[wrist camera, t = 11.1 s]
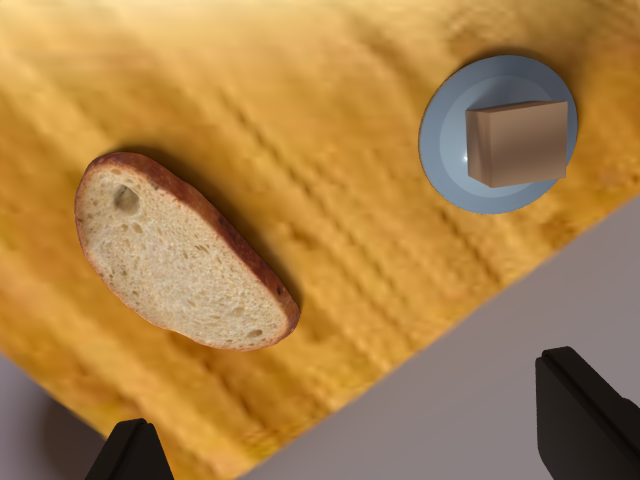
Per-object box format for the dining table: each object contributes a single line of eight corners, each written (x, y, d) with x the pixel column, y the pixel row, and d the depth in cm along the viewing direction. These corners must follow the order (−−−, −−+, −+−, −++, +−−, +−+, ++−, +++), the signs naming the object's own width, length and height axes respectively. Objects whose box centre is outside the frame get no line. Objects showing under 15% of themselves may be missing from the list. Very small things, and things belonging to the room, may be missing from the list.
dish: (411, 70, 34) (415, 69, 33) (570, 44, 33) (580, 42, 32) (424, 220, 38) (427, 224, 36) (567, 198, 37) (576, 202, 36)
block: (465, 110, 34) (490, 113, 29) (531, 100, 33) (567, 101, 29) (467, 175, 35) (491, 188, 30) (531, 166, 35) (565, 177, 30)
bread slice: (301, 342, 41) (300, 366, 38) (107, 347, 41) (88, 370, 38) (294, 146, 36) (291, 152, 32) (70, 151, 36) (43, 158, 32)
